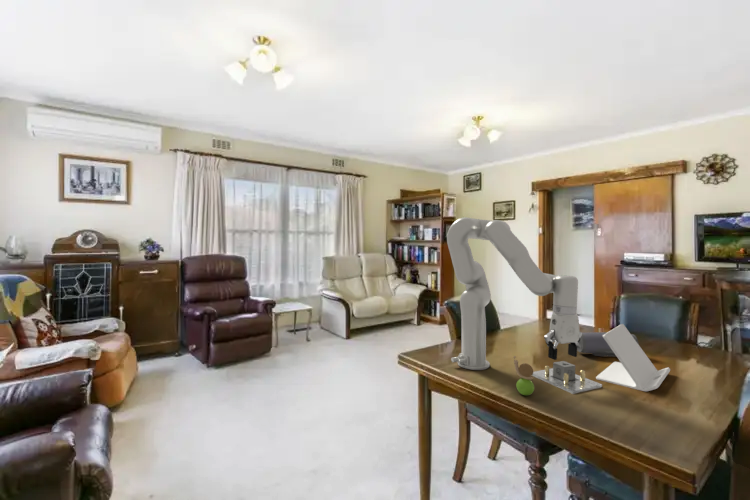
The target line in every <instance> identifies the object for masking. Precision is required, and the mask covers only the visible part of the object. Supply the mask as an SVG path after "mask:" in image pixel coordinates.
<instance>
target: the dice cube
mask: <svg viewBox="0 0 750 500" xmlns="http://www.w3.org/2000/svg"><path fill="white" fill-rule="evenodd" d="M552 368H553V376H554V377H556V378H558V379H561V380H563V381H564V373H567V374H569V376H568V380H575V374H576V365H575V364H573V363H570V362H569V361H565V360H562V361H561V360H560V361H554V362H553V363H552Z"/></svg>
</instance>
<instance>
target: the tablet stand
mask: <svg viewBox="0 0 750 500" xmlns="http://www.w3.org/2000/svg"><path fill="white" fill-rule="evenodd" d="M631 334H632V333H630V331H629V330H628V328H627V327H626V325H624V323H621V324H619V325H618V326H615V327H614V328H613V329H611V330H609V331H607V333H606V334H604V335H603V338H604V339H605V341H606V342H607V343H608V345H609V346H610V348H611V349H612V351H613V352H614V354H615V355H616V356H615V357H616V358H617V359H618V361H613V362H612V363H611V364H610V365H609V366H607V367H606V368H604V369H603V370H602V371H601V372H600V373H598V374H597V376H595V379H596V380H597V381H602V382H606V383H610V384H612V385H613V384H614V385H618V386H621V387H626V388H629V389H630V388H631V389H633V390H638V391H642V392H649V391H650V392H651V391H653V390H656V389H658V388H659V387H660V386H661V384H662V383H663V381H664V380H665V379H666V377H667V376H668V375H669V373H670V371H671V368H670V367H665V368H662V369H659V370H658V369H657V368H656V367H655V365H654V363H652V361H651V360H650V358H649V357H648V356H647V354H646V353H645V351H644V350H643V349H642V347H641V346H640V345H638V343H639V342H638V343H637V342H636V341H635V339H634V338H633V337H632V335H631Z"/></svg>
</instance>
